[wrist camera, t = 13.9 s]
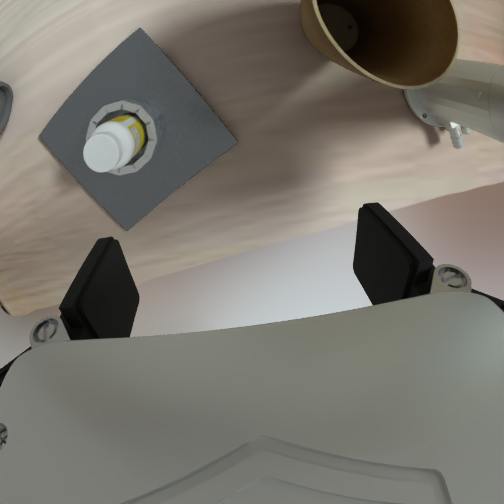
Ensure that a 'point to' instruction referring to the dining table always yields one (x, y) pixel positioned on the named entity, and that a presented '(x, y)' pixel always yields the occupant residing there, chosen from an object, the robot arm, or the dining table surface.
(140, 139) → the supplement bottle
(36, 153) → the dining table surface
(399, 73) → the plant pot
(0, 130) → the bluetooth speaker
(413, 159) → the dining table surface
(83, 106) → the duct collar
